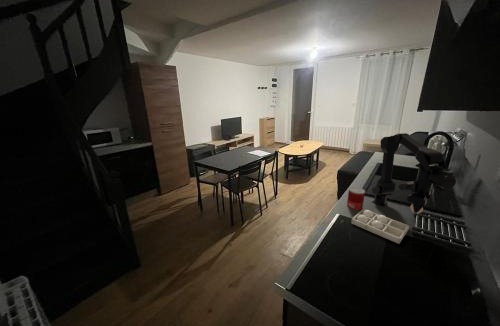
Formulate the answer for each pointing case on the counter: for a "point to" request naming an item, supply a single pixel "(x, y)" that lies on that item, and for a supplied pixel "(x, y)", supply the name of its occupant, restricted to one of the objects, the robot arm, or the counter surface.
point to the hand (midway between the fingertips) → (416, 210)
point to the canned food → (355, 198)
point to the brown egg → (413, 209)
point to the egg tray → (389, 231)
